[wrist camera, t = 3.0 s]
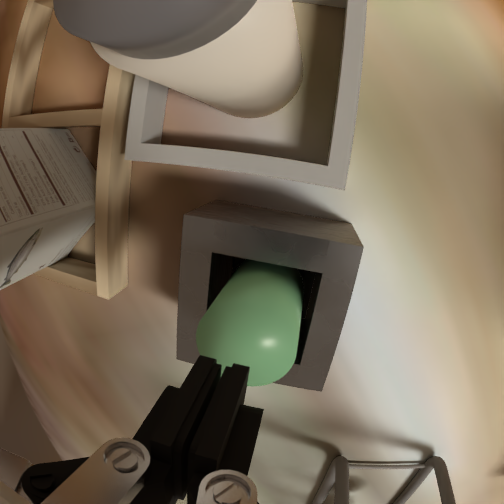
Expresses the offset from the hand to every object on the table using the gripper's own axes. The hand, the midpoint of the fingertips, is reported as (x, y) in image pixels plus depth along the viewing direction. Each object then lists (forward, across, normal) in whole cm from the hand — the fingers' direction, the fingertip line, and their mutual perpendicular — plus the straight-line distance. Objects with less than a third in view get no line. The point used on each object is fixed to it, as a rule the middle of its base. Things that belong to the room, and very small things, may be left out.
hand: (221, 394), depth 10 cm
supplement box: (+11, +16, -4) cm, 19 cm away
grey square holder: (+10, 0, -1) cm, 10 cm away
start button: (+8, 0, -1) cm, 8 cm away
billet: (+10, +3, -13) cm, 17 cm away
